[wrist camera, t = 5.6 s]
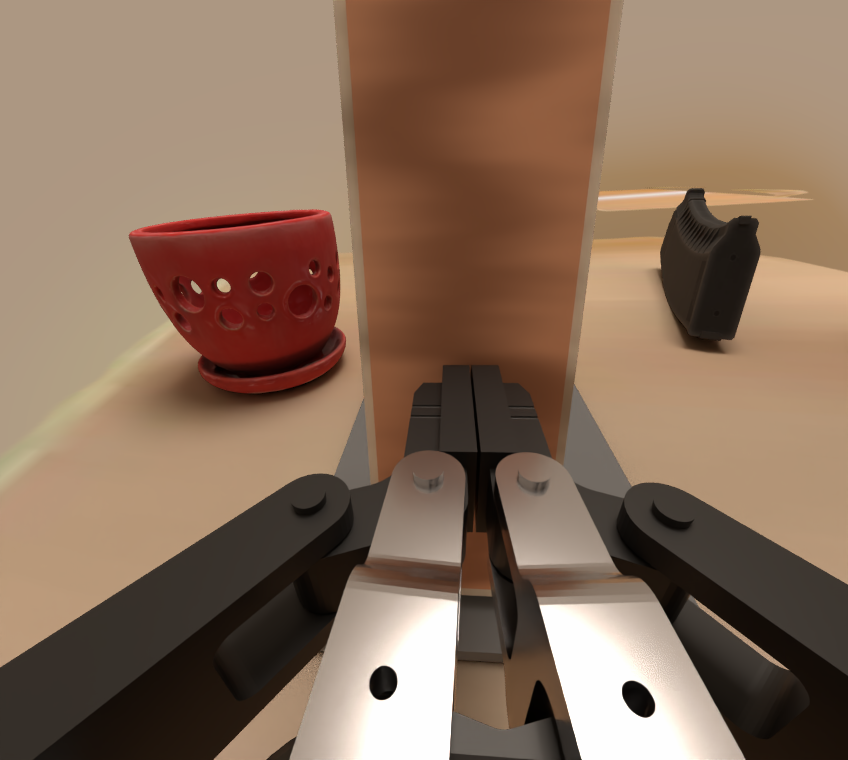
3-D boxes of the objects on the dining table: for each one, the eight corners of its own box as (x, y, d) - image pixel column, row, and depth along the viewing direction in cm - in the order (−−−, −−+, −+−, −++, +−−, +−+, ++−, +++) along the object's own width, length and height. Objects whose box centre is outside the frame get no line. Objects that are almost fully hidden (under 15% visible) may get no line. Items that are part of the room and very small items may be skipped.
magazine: (787, 250, 25) (732, 125, 43) (728, 247, 26) (699, 127, 44) (693, 410, 37) (681, 260, 55) (656, 403, 38) (656, 258, 56)
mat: (557, 362, 31) (558, 356, 31) (725, 676, 12) (732, 667, 12) (380, 361, 32) (379, 355, 32) (276, 648, 13) (272, 639, 13)
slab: (529, 536, 16) (583, -3, 10) (547, 602, 13) (640, -111, 7) (391, 531, 16) (361, 11, 10) (378, 594, 13) (324, -84, 7)
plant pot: (353, 331, 38) (336, 203, 32) (351, 399, 27) (324, 222, 21) (221, 342, 37) (177, 210, 31) (160, 419, 25) (71, 235, 19)
